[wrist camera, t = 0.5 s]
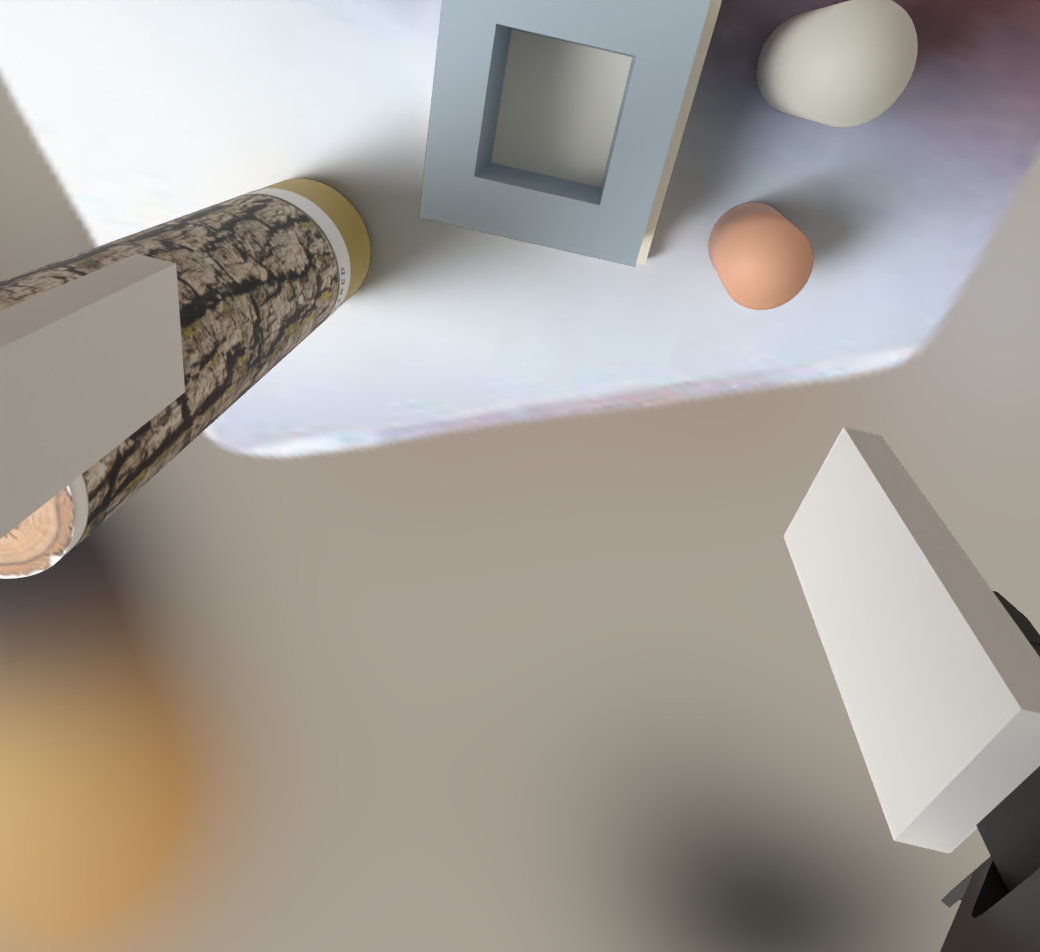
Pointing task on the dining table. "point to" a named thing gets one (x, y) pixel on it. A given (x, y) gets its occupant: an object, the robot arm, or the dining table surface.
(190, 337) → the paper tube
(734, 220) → the short dowel
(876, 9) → the medium dowel
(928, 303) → the dining table surface
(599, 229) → the socket board
